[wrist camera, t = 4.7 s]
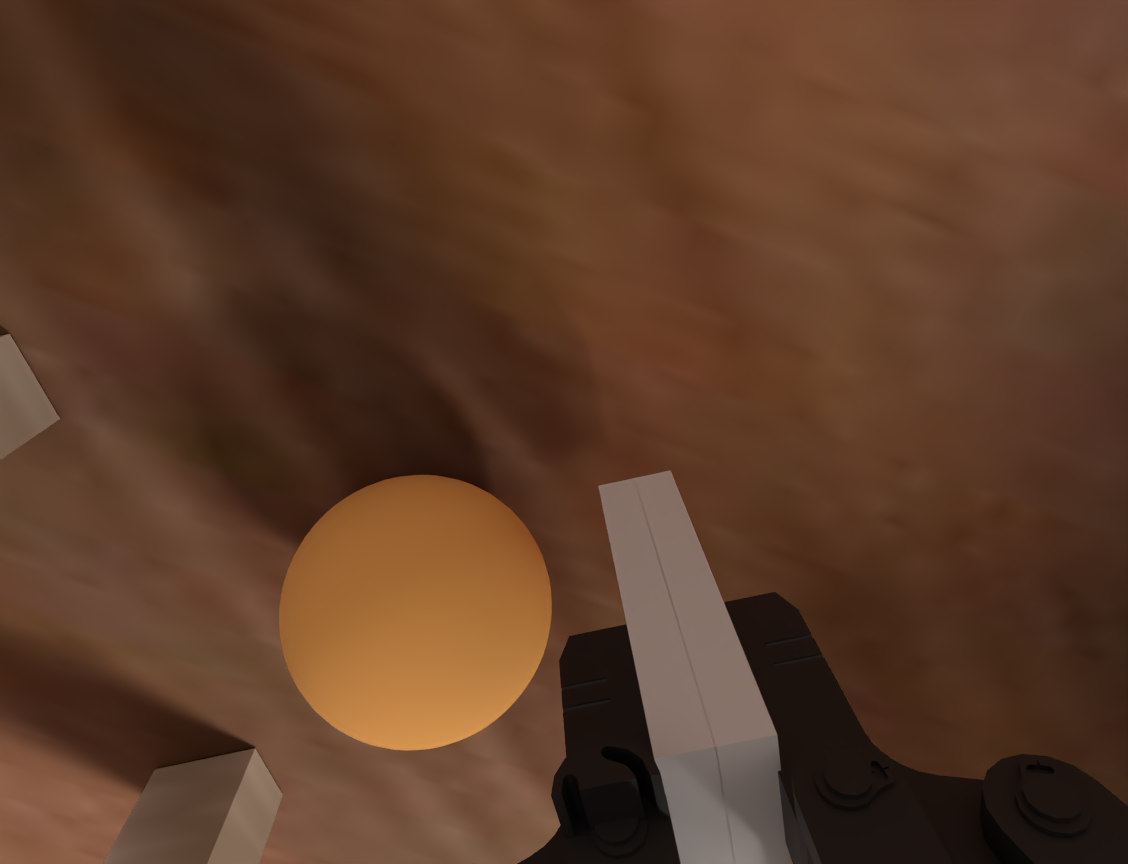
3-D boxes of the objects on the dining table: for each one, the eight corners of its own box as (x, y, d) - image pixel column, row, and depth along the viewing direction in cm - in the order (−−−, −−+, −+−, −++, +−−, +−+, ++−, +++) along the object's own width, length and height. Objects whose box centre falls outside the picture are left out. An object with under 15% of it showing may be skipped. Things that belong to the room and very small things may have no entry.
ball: (290, 629, 10) (209, 504, 14) (387, 873, 13) (292, 705, 17) (585, 479, 13) (444, 410, 17) (620, 702, 15) (489, 593, 19)
